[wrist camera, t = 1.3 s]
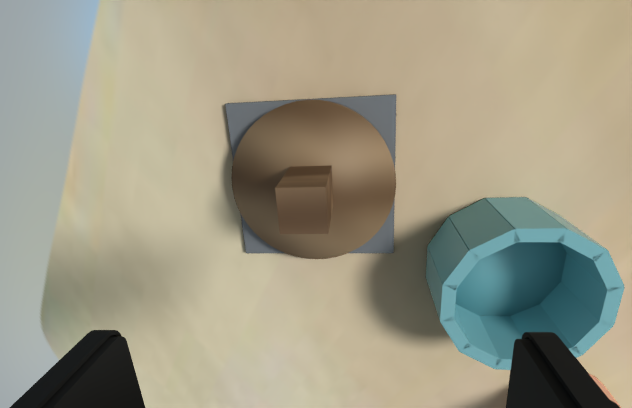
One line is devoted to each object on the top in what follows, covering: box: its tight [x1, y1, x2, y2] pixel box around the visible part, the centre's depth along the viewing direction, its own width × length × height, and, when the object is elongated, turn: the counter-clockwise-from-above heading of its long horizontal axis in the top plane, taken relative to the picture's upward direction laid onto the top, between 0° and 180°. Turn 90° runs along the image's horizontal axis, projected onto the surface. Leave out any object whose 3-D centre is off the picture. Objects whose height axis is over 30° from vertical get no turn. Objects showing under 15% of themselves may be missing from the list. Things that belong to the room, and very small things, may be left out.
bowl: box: [426, 197, 624, 370], centre depth 26 cm, size 11×11×6 cm
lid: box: [232, 100, 396, 259], centre depth 24 cm, size 12×12×6 cm
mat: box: [225, 94, 396, 253], centre depth 27 cm, size 12×12×1 cm
